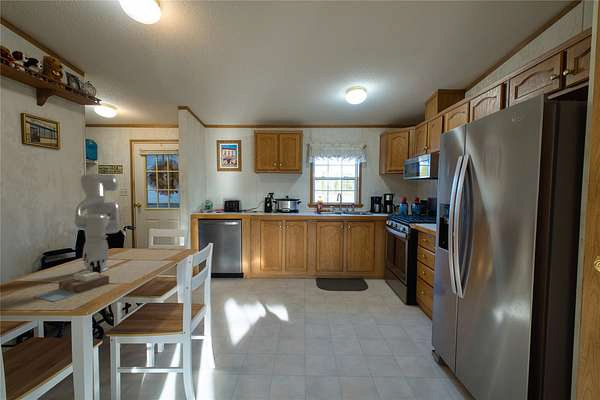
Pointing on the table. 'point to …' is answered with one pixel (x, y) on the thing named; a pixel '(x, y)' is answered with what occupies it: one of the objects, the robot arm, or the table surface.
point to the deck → (83, 284)
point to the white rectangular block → (86, 276)
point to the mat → (55, 295)
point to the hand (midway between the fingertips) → (96, 273)
